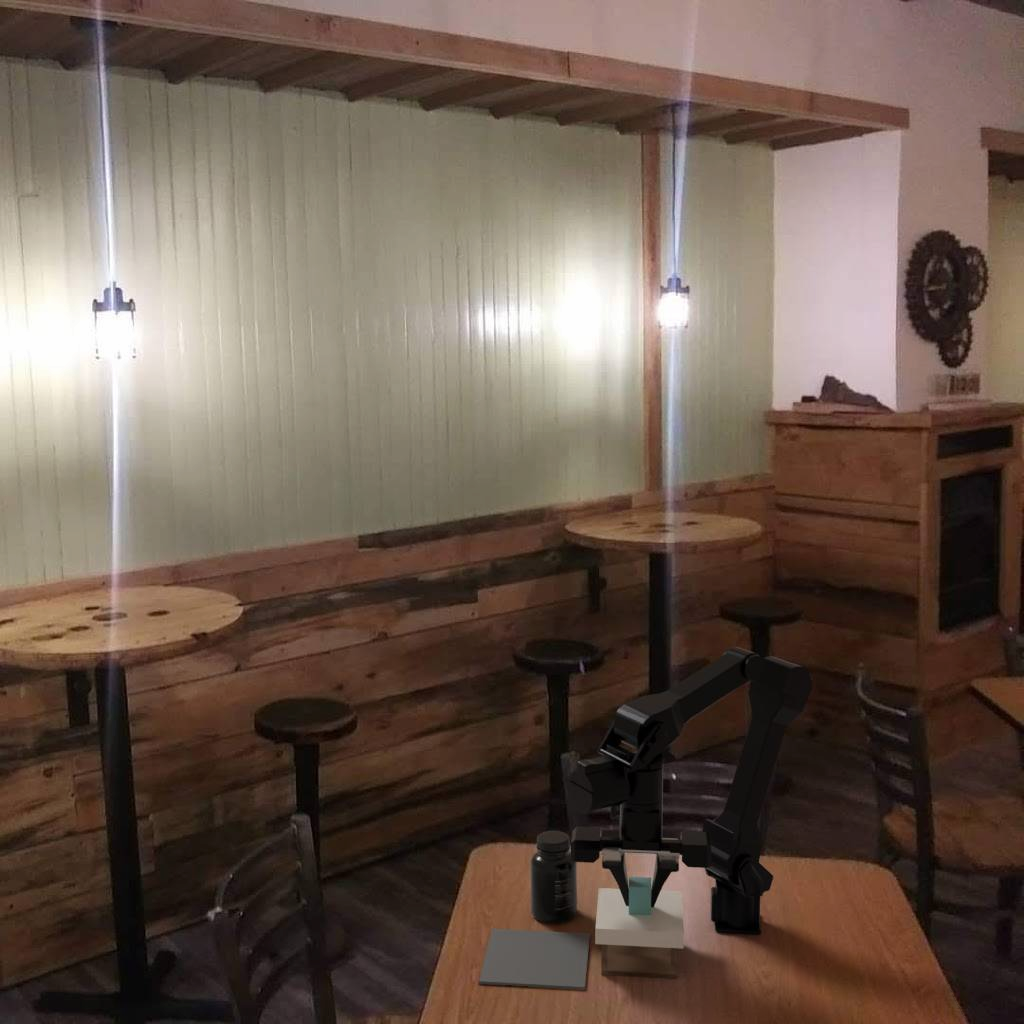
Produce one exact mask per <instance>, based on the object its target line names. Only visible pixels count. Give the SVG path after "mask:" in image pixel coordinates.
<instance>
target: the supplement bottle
mask: <svg viewBox="0 0 1024 1024" xmlns="http://www.w3.org/2000/svg"><path fill="white" fill-rule="evenodd" d="M535 847H536V851H535V852H534V853H533V854H532V855H531V858H530V865H529V867H530V868H529V869H530V911H531V912H530V913H531V915H532V916H533V917H534V918H535V919H536V920H537V921H539V922H542V923H545V924H551V925H554V924H556V925H557V924H564V923H567V922H571V920H573V919H574V918H575V917H576V915H577V913H578V875H577V874H578V872H577V871H578V867H577V866H578V865H577V864H578V862H574V861H572V860H571V841H570V835H569V834H567V833H566V832H563V831H560V830H548V831H543V832H541V833H539V834H538V835H537V837H536V846H535Z"/></svg>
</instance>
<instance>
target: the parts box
mask: <svg viewBox="0 0 1024 1024" xmlns="http://www.w3.org/2000/svg"><path fill="white" fill-rule="evenodd" d="M600 947H601V953H600V954H601V955H600V956H601V959H600V960H601V962H600V964H601V965H600V968H601V969H600V974H601V975H602V976H603V975H604V976H620V977H621V976H623V977H640V978H641V977H642V978H655V977H656V978H657V979H658V978H659V979H675V980H676V979H677V978H678V977H677V976H678V975H677V974H678V973H677V970H678V968H677V967H678V948H662V947H643V946H624V945H605V944H601V946H600ZM662 977H663V978H662Z"/></svg>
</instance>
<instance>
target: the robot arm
mask: <svg viewBox="0 0 1024 1024" xmlns="http://www.w3.org/2000/svg"><path fill="white" fill-rule="evenodd" d="M748 682H749V687H748V692H747V693H748V699H749V704H750V708H751V709H750V710H751V719H750V723H749V726H748V730H747V732H746V735H745V736H746V737H745V740H744V743H743V746H742V750H741V753H740V756H739V759H738V762H737V764H736V765H737V766H736V768H735V769H736V770H735V773H734V775H733V779H732V782H731V785H730V789H729V792H728V795H727V799H726V803H725V806H724V809H723V810H722V812H721V813H720V814H718V816H717V817H716V818H714V819H713V820H711V819H708V818H707V819H706V820H705V821H704V823H703V825H702V831H700V830H699V831H695V830H694V831H692V830H680V839H678V838H675V837H674V838H671V837H663V814H664V813H663V809H664V808H663V805H664V803H663V802H664V801H663V800H664V798H663V797H664V795H663V794H664V765H667V764H668V765H669V764H673V763H675V762H677V759H678V757H677V756H676V755H675V754H673V753H672V752H671V751H670V750H669V748H668V747H670V745H672V744H673V743H674V742H675V741H676V740H678V738H679V737H680V735H681V733H682V731H683V728H684V726H685V724H686V723H688V722H689V721H690V720H691V719H693V718H695V717H697V715H698V714H701V713H702V712H704V711H706V710H707V709H708V708H710V707H711V706H713V705H714V704H715V703H717V702H719V701H721V700H722V699H723V698H726V696H727V695H729V694H731V693H733V692H734V691H736V690H737V689H738V688H741V686H743V685H745V684H747V683H748ZM812 690H813V678H812V677H811V674H810V671H808V669H807V668H806V667H804V666H802V665H799V664H796V663H794V662H793V663H792V662H791V661H788V660H784V659H782V658H778V657H775V656H765V657H761V656H760V655H759V653H758V654H757V653H756V652H753V651H750V650H747V649H745V648H741V647H737V646H733V647H729V648H727V649H726V650H725V651H724V653H723V654H722V655H721V656H720V657H717V658H716V659H715V660H713V661H712V662H710V663H708V664H707V665H705V666H704V667H702V668H700V669H699V670H697V671H696V672H694V673H693V674H691V675H689V676H688V677H686V678H685V679H683V680H681V681H680V682H678V683H676V684H675V685H674V686H672V687H671V688H669V689H667V690H666V691H663V692H660V693H654V694H648V695H642V696H640V697H638V698H635V699H632V700H630V701H627V702H625V703H624V704H623V705H621V706H620V707H619V708H618V709H616V710H617V711H616V712H615V718H614V719H613V721H612V723H611V724H610V726H609V728H608V729H607V732H606V733H605V735H604V737H603V739H602V740H601V742H600V744H599V746H598V748H597V749H596V752H597V753H598V754H599V755H602V756H601V757H596V758H592V759H581V760H578V761H577V762H576V770H573V771H571V773H570V775H569V778H568V781H567V782H566V788H567V789H566V790H567V794H568V798H569V802H570V803H571V805H572V807H573V809H574V810H575V811H576V812H577V813H578V814H580V815H588V814H592V813H595V812H599V811H603V810H607V809H610V810H609V811H610V815H609V817H610V820H619V836H617V837H616V836H602V827H599V826H576V827H575V828H574V829H573V830H572V832H571V833H572V834H571V841H570V852H571V860H572V861H574V862H577V863H587V864H588V863H589V864H594V863H595V862H596V861H597V860H598V859H600V857H601V856H602V861H601V867H602V869H605V870H609V871H610V873H611V875H612V877H613V878H614V880H615V881H616V883H617V886H618V889H620V891H621V894H622V897H623V899H624V902H625V905H626V906H629V877H628V872H627V863H626V862H627V861H626V853H629V854H649V855H651V854H653V855H654V854H655V863H654V870H653V875H652V876H653V877H652V881H651V907H654V905H655V903H656V901H657V898H658V896H659V894H660V891H662V889H663V886H664V885H665V883H666V882H667V880H668V878H669V876H671V874H672V873H677V872H679V871H680V861H679V859H680V858H681V862H682V863H683V864H684V865H685V866H686V867H687V868H701V869H704V871H705V875H706V876H708V877H711V878H713V880H715V882H714V884H715V885H714V886H712V887H711V888H710V921H712V923H714V931H715V932H718V933H731V934H733V933H734V934H739V933H740V934H755V935H760V934H762V927H761V920H760V919H761V897H763V896H764V894H765V893H766V892H768V891H770V889H771V887H772V884H773V880H774V875H773V873H771V872H770V871H769V870H768V869H767V868H765V866H764V865H762V864H761V863H760V859H761V858H760V857H761V853H762V852H761V851H762V848H763V846H762V840H761V835H760V834H761V833H760V830H759V825H758V823H759V820H760V816H761V812H762V809H763V805H764V802H765V799H766V795H767V792H768V789H769V785H770V782H771V779H772V775H773V773H774V770H775V765H776V762H777V759H778V755H779V753H780V749H781V746H782V742H783V740H784V736H785V733H786V729H787V727H788V726H789V725H790V724H791V723H792V722H793V721H794V720H795V719H797V717H798V716H800V715H801V713H803V711H804V708H805V707H806V704H807V702H808V699H809V697H810V695H811V693H812ZM621 743H623V744H624V745H627V746H628V747H631V748H633V749H635V750H637V751H634V752H632V751H630V750H628V749H626V748H624V747H622V746H620V744H621ZM600 852H601V853H600ZM680 856H681V857H680Z"/></svg>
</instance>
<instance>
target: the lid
mask: <svg viewBox="0 0 1024 1024" xmlns="http://www.w3.org/2000/svg"><path fill="white" fill-rule="evenodd" d="M628 886H629V906H626V905H625V902H624V899H623V897H622V894H621V891H620V889H619V888H608V887H607V888H606V887H598V895H597V904H596V905H597V906H596V908H597V909H596V917H595V918H596V920H595V930H594V931H595V932H594V933H595V936H594V937H595V938H594V939H595V945H602V944H605V945H624V946H643V947H662V948H677V949H684V944H685V943H684V941H685V939H684V937H685V936H684V935H685V932H684V931H685V930H684V913H683V910H684V909H683V897H682V895H683V894H682V891H671V890H669V891H668V890H661V891H660V894H659V896H658V898H657V901H656V903H655V905H654V907H651V889H652V877H647V876H646V877H645V876H644V877H643V876H629V877H628Z"/></svg>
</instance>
